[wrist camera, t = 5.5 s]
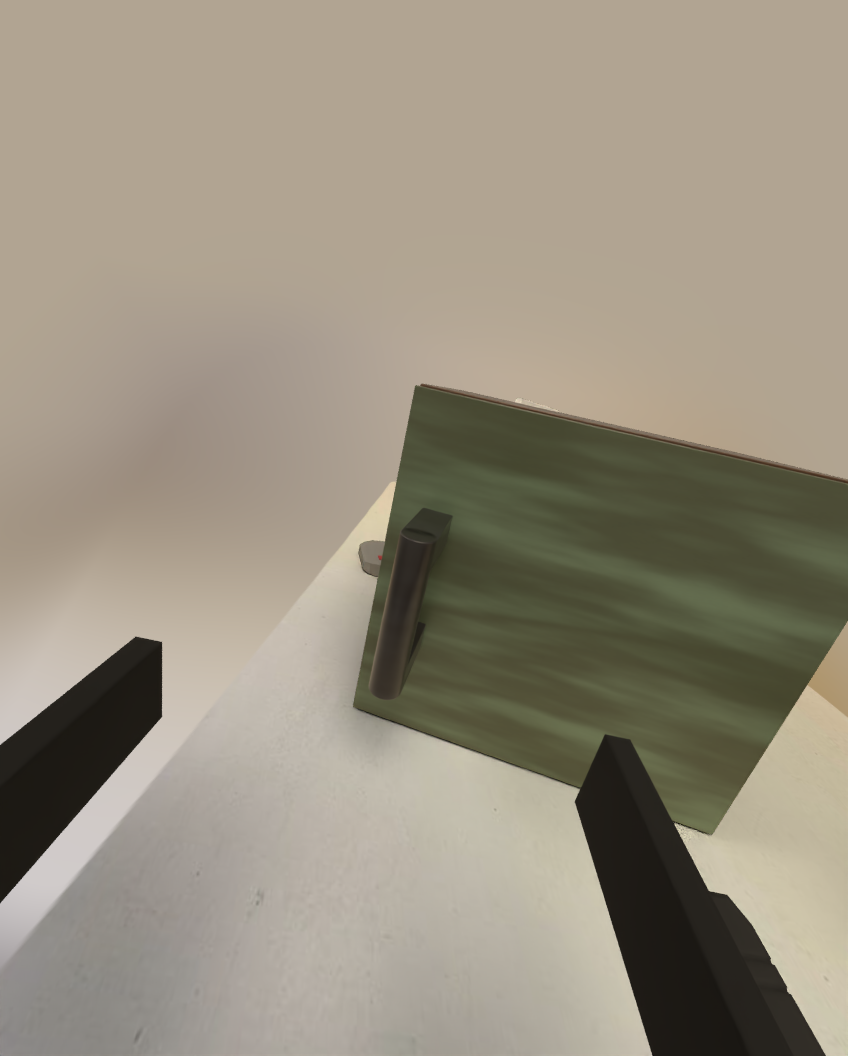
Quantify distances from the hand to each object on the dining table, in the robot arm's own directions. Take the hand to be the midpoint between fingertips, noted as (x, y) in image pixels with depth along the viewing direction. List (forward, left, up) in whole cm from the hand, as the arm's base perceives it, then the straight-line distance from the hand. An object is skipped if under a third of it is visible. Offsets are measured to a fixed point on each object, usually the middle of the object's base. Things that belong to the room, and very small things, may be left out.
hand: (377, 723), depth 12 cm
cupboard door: (+8, +13, -15) cm, 21 cm away
